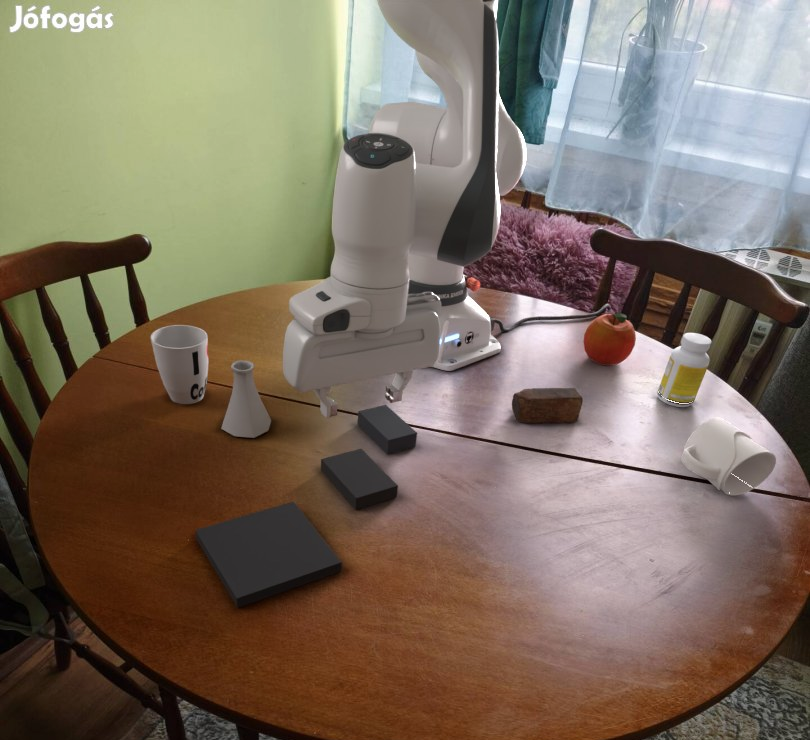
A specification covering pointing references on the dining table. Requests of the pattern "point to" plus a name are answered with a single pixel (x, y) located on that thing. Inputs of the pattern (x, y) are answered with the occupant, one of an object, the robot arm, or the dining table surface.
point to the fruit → (609, 339)
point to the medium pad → (359, 478)
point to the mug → (727, 457)
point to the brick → (547, 405)
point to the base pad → (267, 553)
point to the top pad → (387, 429)
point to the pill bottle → (685, 370)
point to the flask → (245, 405)
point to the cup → (182, 361)
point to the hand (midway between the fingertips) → (361, 407)
